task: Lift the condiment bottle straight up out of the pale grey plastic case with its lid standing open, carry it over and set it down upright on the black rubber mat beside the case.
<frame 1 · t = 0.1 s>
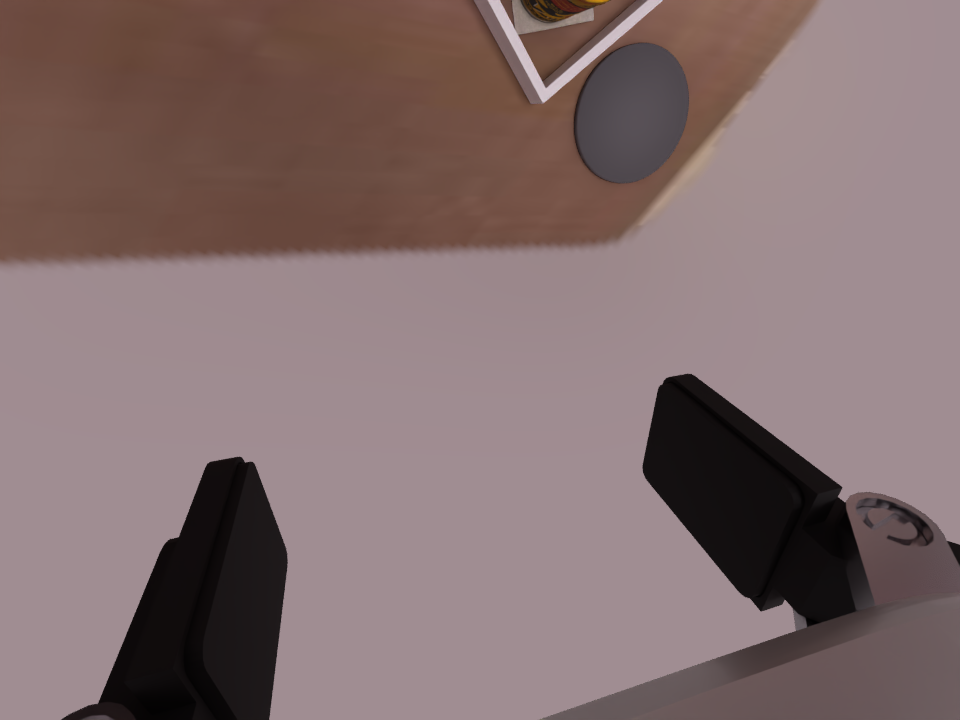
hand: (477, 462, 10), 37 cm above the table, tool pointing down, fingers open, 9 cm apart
mat: (629, 117, 44), on the table
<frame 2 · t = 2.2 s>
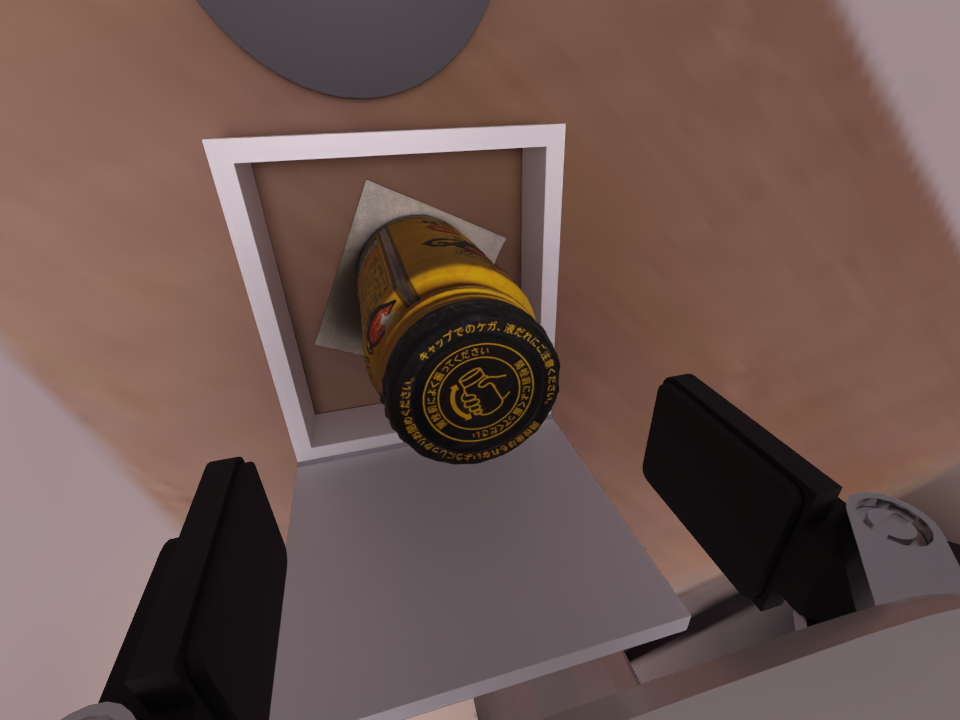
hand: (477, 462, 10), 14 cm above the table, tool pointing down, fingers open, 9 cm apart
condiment: (409, 288, 23), resting in case
case: (410, 290, 23), on the table
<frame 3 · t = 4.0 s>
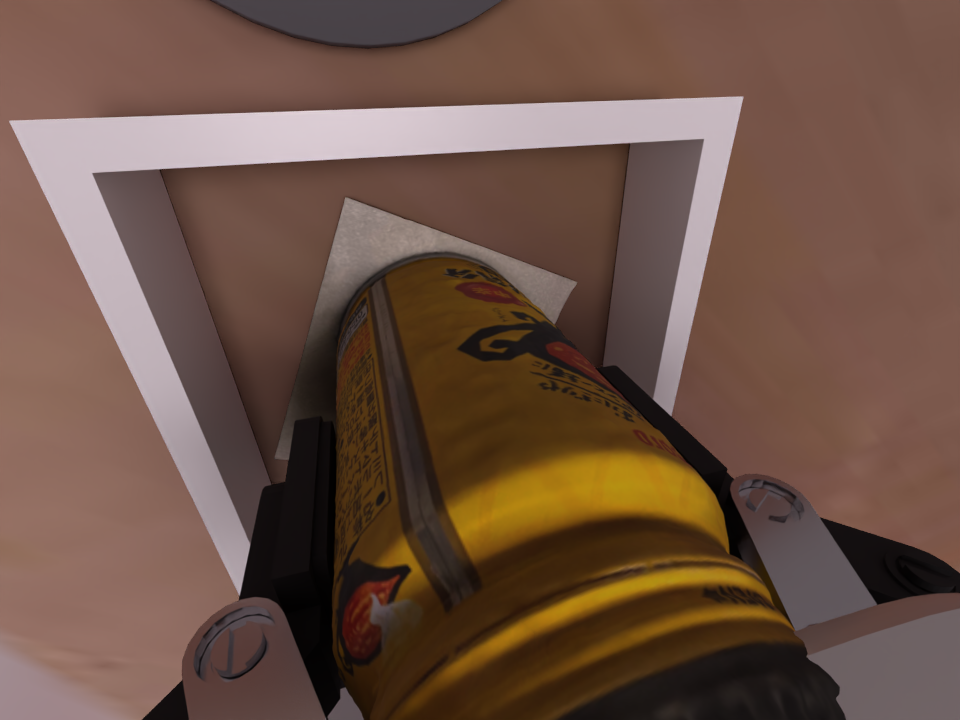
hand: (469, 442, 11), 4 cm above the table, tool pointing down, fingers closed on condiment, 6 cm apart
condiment: (423, 363, 15), resting in case, touching gripper
case: (439, 365, 15), on the table
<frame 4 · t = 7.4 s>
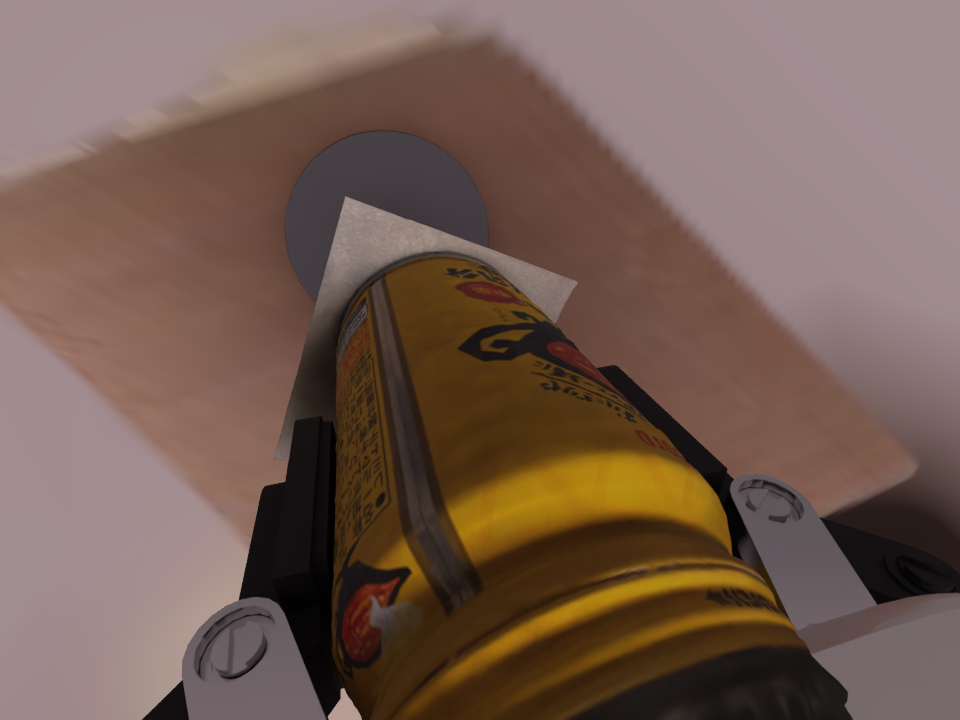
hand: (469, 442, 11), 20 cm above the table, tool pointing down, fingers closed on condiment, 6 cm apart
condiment: (423, 363, 15), point 16 cm above the table, touching gripper
mat: (391, 239, 28), on the table
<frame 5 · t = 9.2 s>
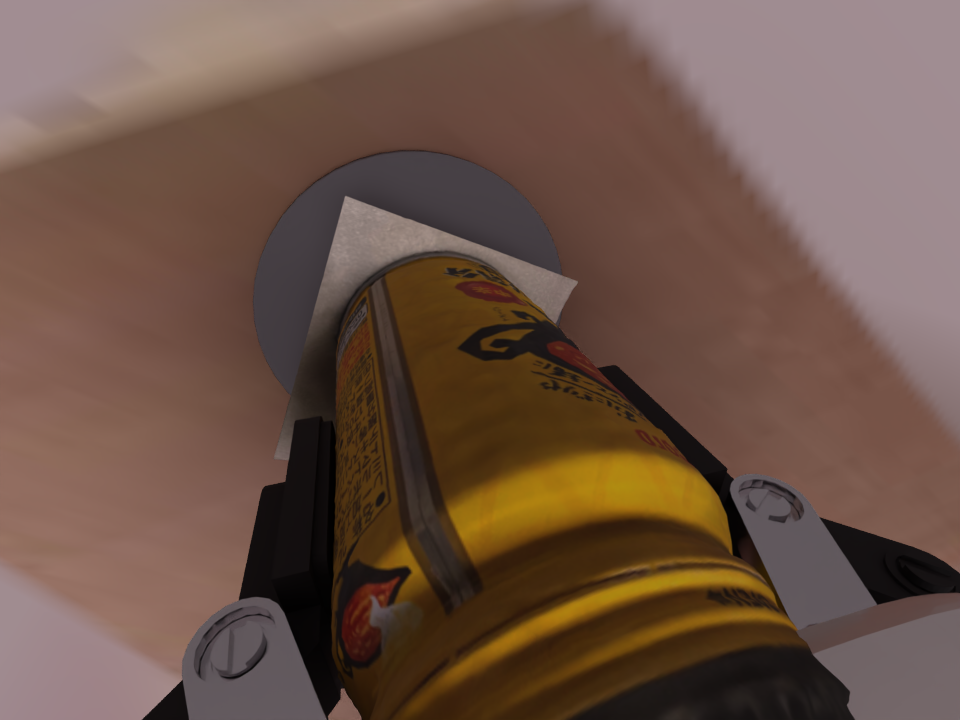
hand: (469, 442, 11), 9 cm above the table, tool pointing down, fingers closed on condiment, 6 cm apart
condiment: (423, 363, 15), point 4 cm above the table, touching gripper
mat: (419, 311, 18), on the table
when the fingers open (6 cm above the table, at t = 10.7 s): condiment drops 1 cm, resting on mat.
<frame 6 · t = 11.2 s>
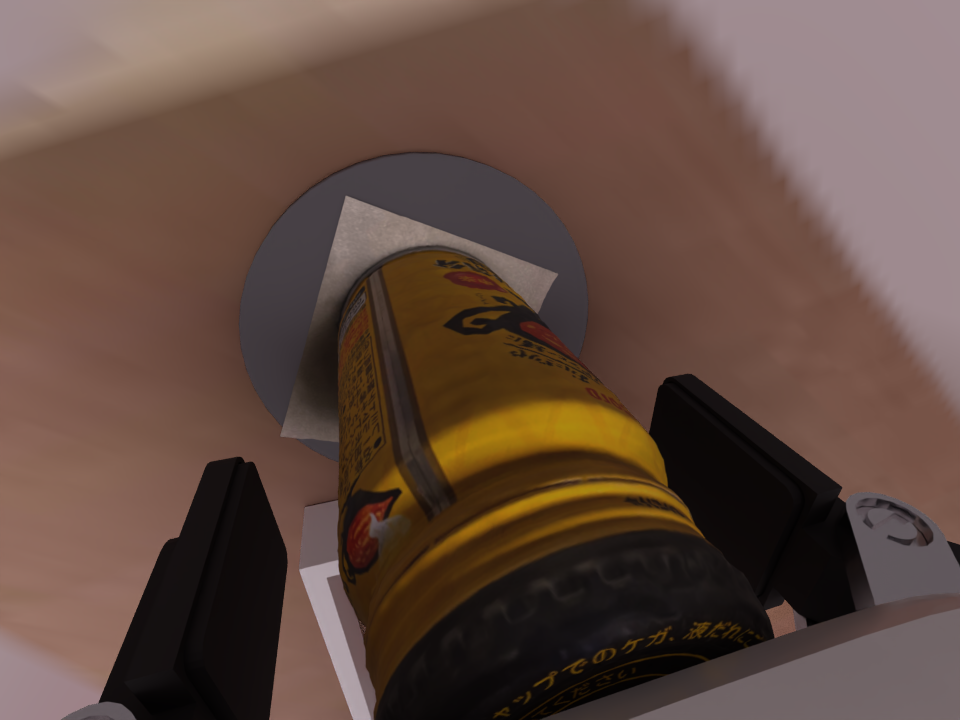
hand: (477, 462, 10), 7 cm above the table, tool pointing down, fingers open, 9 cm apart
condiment: (417, 348, 16), point 1 cm above the table, touching mat
mat: (427, 332, 16), on the table
case: (469, 575, 24), on the table
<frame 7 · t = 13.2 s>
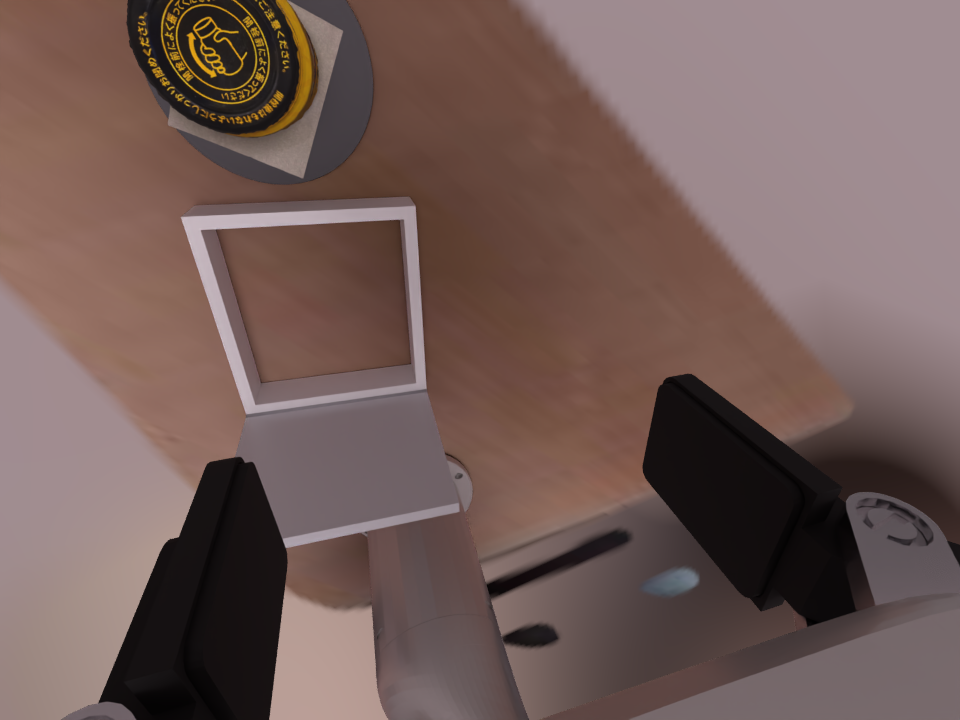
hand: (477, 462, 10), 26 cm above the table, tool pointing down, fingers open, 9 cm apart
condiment: (256, 77, 25), point 1 cm above the table, touching mat
mat: (266, 72, 26), on the table
case: (325, 301, 34), on the table
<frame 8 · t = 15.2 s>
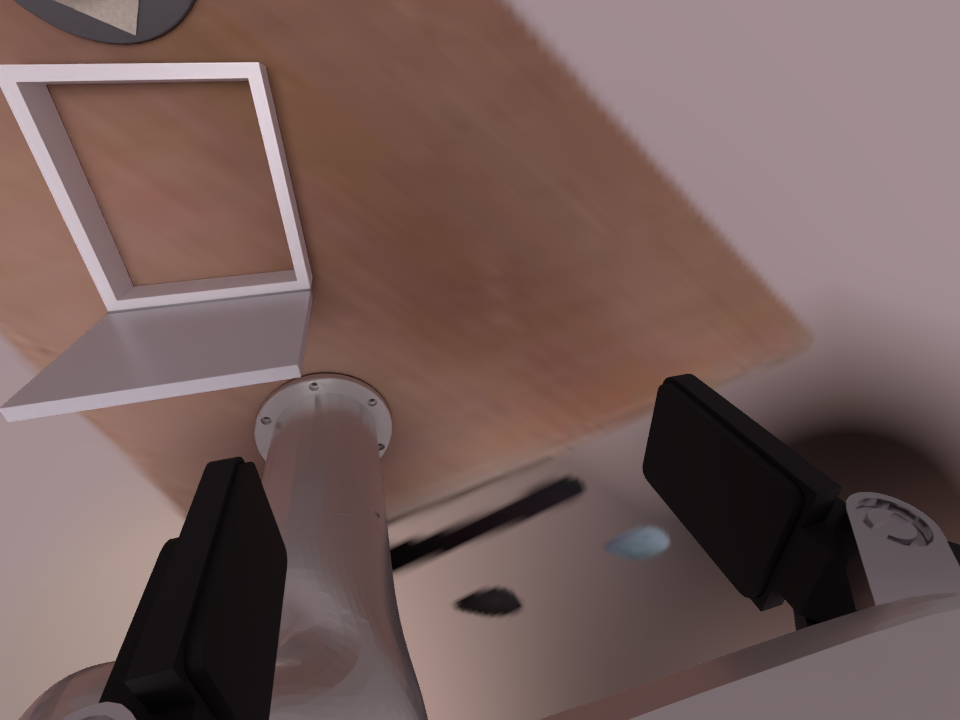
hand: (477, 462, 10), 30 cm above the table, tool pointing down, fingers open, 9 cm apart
case: (191, 189, 32), on the table
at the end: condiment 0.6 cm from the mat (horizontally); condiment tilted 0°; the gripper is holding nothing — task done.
